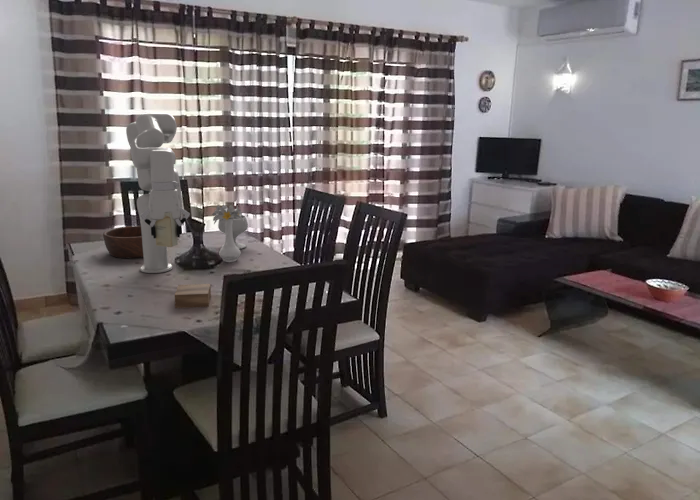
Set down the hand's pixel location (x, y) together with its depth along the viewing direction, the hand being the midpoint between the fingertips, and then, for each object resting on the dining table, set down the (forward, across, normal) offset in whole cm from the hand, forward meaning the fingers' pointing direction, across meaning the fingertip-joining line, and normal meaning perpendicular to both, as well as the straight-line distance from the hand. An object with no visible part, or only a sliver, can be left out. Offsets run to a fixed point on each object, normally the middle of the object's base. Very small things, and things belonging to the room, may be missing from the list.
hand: (166, 236), depth 193 cm
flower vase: (+22, -23, -45) cm, 55 cm away
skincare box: (+3, 0, 0) cm, 3 cm away
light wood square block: (+23, -8, +7) cm, 25 cm away
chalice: (+22, -26, -68) cm, 76 cm away
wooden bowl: (+22, +19, -65) cm, 71 cm away
